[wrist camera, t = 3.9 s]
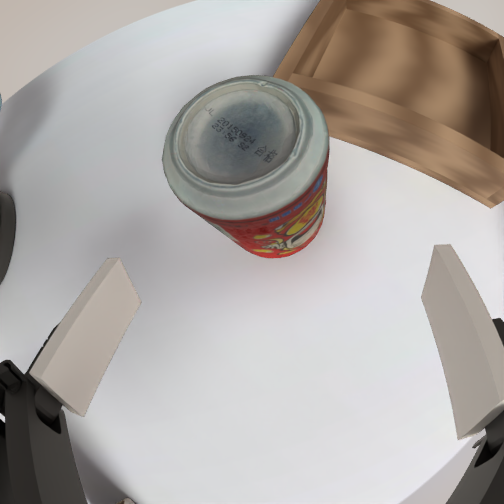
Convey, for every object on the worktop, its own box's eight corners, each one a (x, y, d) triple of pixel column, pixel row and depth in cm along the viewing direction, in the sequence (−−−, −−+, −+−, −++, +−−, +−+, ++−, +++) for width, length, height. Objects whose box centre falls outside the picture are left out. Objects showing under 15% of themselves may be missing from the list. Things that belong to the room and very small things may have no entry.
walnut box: (280, 121, 23) (270, 80, 18) (338, 8, 25) (337, -26, 19) (490, 208, 18) (524, 186, 13) (490, 66, 20) (506, 38, 14)
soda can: (289, 281, 21) (255, 254, 9) (215, 229, 23) (123, 162, 11) (342, 203, 21) (362, 101, 10) (266, 158, 23) (222, 48, 11)
